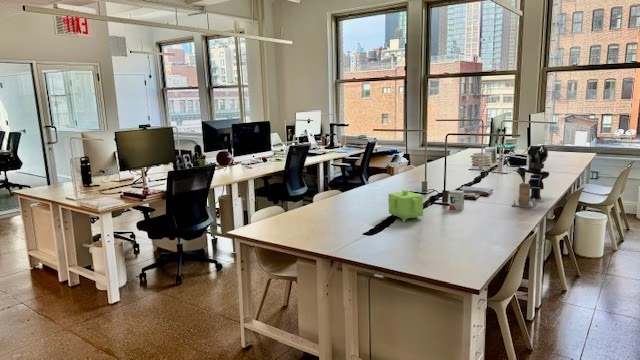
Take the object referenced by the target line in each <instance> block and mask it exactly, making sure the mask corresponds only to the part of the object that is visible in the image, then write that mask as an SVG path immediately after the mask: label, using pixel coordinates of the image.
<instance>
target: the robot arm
mask: <svg viewBox="0 0 640 360" xmlns="http://www.w3.org/2000/svg"><path fill="white" fill-rule="evenodd" d="M527 155H528V158H529V160H528V165H527V166H528V169H526V167H524V166H518V167H517V168H516V173H517V174H518V176H520V178H521V181H522V183H526V174H531V175H530V176H529V177H530V178H529V179H528V183H527V184H530V199H533V198H535V199H541V197H542V196H541V191H542V190H544V189H545V185H544V182H543V180H544V179H547V178H548V177H549V176H550V172H549V171H547V170H543V169H544V167H545V163H544V162H546V161H547V158H548V157H549V150H548V149H547V148H546V147H545V144H543V143H540V144H539V143H538V144H530V146H529V147H528V149H527Z"/></svg>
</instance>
